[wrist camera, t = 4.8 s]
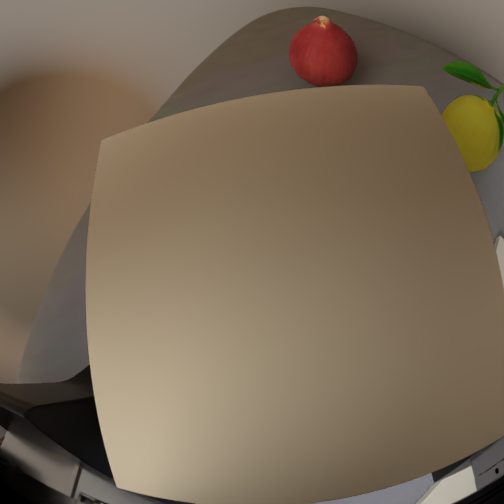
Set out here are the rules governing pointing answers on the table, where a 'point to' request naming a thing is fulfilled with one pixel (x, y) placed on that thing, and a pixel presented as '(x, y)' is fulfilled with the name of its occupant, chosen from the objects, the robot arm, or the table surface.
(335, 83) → the onion
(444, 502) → the tee mat
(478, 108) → the lemon
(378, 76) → the table surface
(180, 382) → the birch tee block
